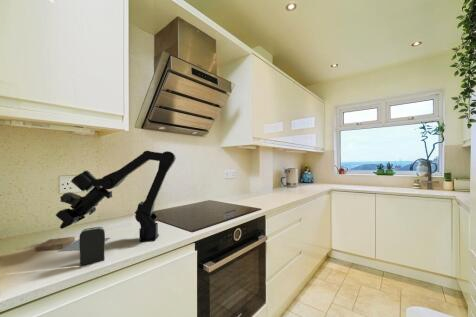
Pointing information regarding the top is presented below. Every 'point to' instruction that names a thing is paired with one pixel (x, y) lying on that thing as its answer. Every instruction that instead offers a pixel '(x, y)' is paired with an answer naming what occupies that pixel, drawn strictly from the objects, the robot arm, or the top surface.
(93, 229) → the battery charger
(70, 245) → the mat
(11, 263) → the top surface
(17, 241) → the top surface
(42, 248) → the board
